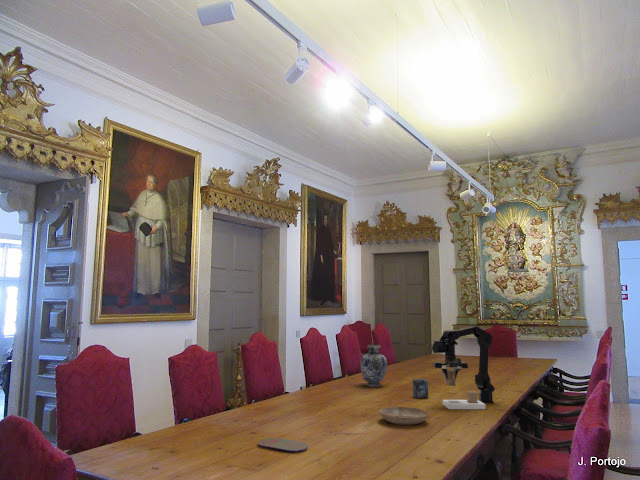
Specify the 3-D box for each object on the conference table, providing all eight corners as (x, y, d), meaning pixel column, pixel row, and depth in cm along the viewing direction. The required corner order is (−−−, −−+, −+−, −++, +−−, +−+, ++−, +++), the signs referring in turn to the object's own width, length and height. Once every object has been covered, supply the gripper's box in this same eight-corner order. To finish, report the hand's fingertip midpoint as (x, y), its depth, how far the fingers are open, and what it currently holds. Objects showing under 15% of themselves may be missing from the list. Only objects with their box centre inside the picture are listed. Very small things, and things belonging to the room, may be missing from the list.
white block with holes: (477, 404, 266) (477, 389, 267) (485, 409, 254) (484, 393, 255) (442, 404, 266) (442, 389, 267) (449, 409, 254) (448, 393, 255)
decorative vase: (357, 382, 335) (358, 343, 339) (383, 382, 337) (383, 343, 341) (363, 388, 314) (364, 346, 318) (390, 388, 316) (390, 346, 320)
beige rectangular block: (453, 384, 269) (452, 370, 270) (455, 385, 265) (454, 371, 266) (446, 384, 269) (446, 370, 270) (448, 385, 265) (447, 371, 266)
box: (416, 398, 282) (415, 380, 284) (412, 396, 288) (412, 378, 289) (428, 398, 283) (428, 380, 285) (425, 396, 289) (424, 378, 290)
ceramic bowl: (425, 430, 212) (425, 419, 212) (374, 425, 220) (374, 414, 220) (431, 418, 233) (431, 408, 234) (385, 414, 241) (385, 404, 242)
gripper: (437, 354, 261) (437, 382, 259) (470, 354, 261) (471, 383, 259) (432, 352, 272) (433, 379, 270) (464, 352, 272) (465, 379, 270)
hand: (450, 380), depth 267 cm, fingers closed on beige rectangular block, 4 cm apart
